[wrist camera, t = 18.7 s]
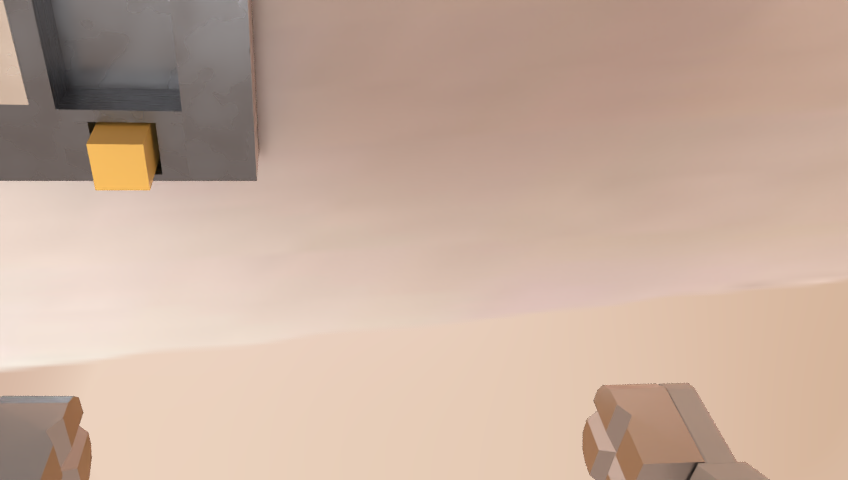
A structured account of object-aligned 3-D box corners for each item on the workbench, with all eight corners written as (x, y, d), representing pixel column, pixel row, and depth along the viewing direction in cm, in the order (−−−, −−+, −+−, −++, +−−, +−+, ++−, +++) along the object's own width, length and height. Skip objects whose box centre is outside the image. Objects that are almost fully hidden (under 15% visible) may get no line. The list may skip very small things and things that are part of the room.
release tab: (156, 106, 35) (143, 144, 32) (161, 149, 37) (149, 190, 34) (104, 105, 35) (86, 144, 32) (112, 148, 36) (95, 190, 33)
